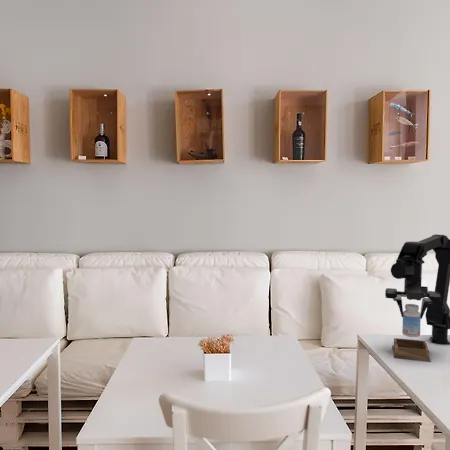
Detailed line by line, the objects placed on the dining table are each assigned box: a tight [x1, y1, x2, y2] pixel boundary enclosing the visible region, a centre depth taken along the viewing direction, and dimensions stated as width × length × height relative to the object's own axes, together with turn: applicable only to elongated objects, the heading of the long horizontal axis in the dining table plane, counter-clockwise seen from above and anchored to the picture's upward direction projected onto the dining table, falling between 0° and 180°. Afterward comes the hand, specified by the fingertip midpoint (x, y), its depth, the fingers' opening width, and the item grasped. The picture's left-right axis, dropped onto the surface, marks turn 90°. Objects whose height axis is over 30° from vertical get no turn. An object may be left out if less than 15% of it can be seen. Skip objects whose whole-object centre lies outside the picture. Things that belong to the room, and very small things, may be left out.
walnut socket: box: [391, 337, 432, 363], centre depth 161 cm, size 12×12×4 cm
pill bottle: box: [401, 303, 422, 338], centre depth 162 cm, size 6×6×11 cm
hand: (411, 317), depth 162 cm, fingers closed on pill bottle, 6 cm apart
